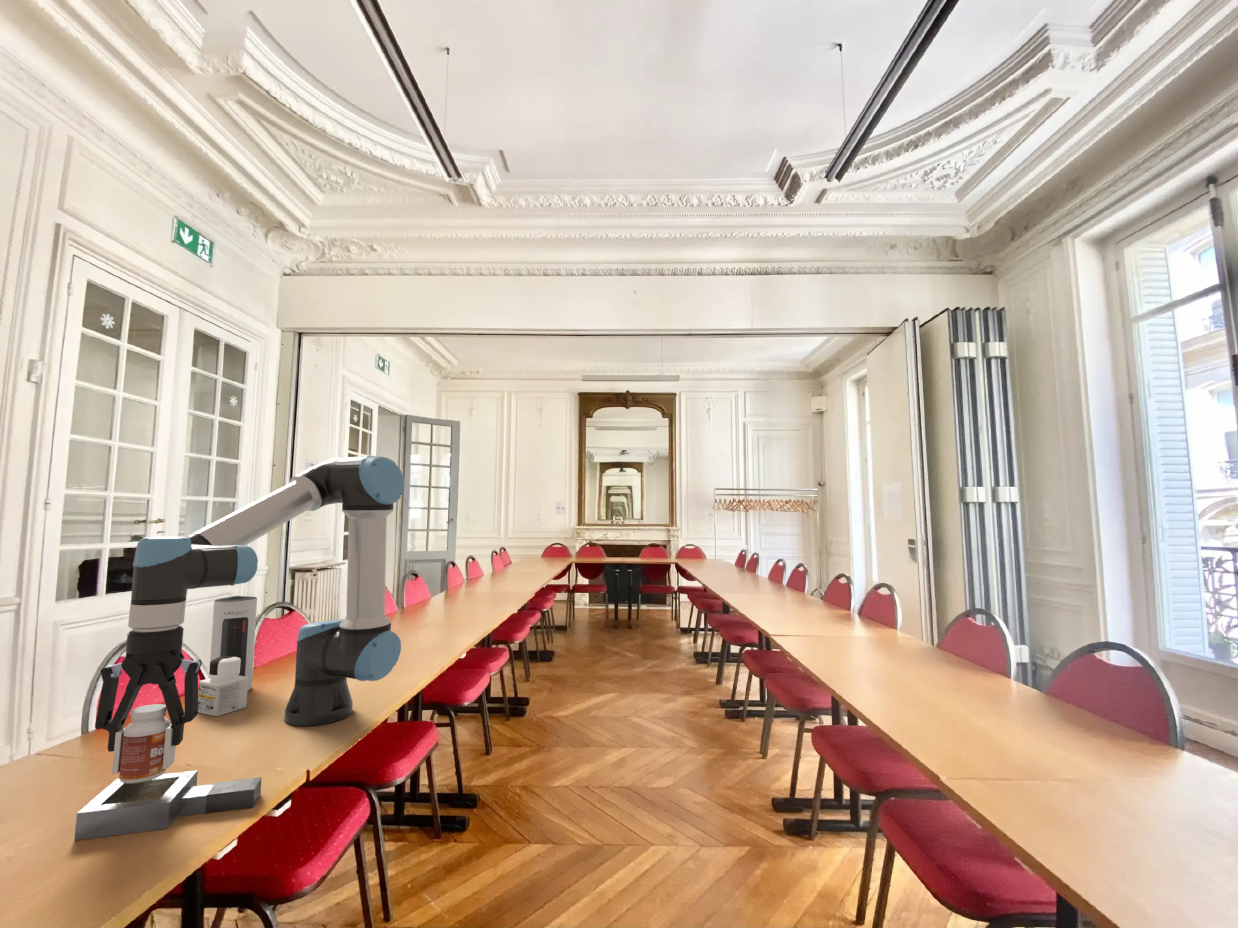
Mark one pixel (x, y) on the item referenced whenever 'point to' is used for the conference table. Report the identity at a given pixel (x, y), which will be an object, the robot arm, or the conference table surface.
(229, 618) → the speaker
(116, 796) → the grey square pan
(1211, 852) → the conference table surface
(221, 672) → the container
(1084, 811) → the conference table surface
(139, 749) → the pill bottle
